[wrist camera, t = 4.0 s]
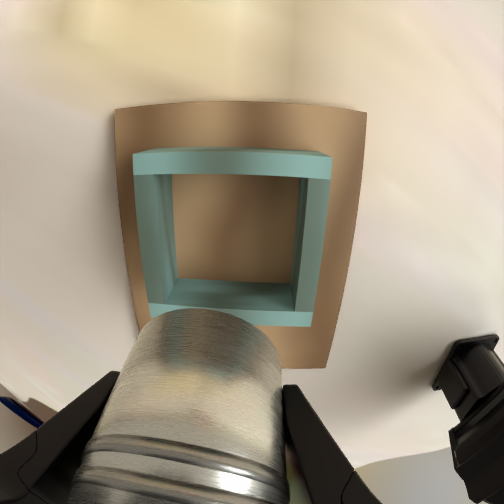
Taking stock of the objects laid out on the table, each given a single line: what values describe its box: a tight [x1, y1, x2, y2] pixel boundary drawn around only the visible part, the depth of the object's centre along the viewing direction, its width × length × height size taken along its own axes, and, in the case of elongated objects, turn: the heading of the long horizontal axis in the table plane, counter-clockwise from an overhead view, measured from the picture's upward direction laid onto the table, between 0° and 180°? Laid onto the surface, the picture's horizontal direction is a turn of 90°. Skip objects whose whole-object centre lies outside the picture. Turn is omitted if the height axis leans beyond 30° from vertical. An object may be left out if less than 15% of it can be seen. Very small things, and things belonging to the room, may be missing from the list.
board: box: [115, 101, 367, 369], centre depth 17 cm, size 14×18×4 cm
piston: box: [67, 308, 290, 504], centre depth 6 cm, size 5×5×6 cm
